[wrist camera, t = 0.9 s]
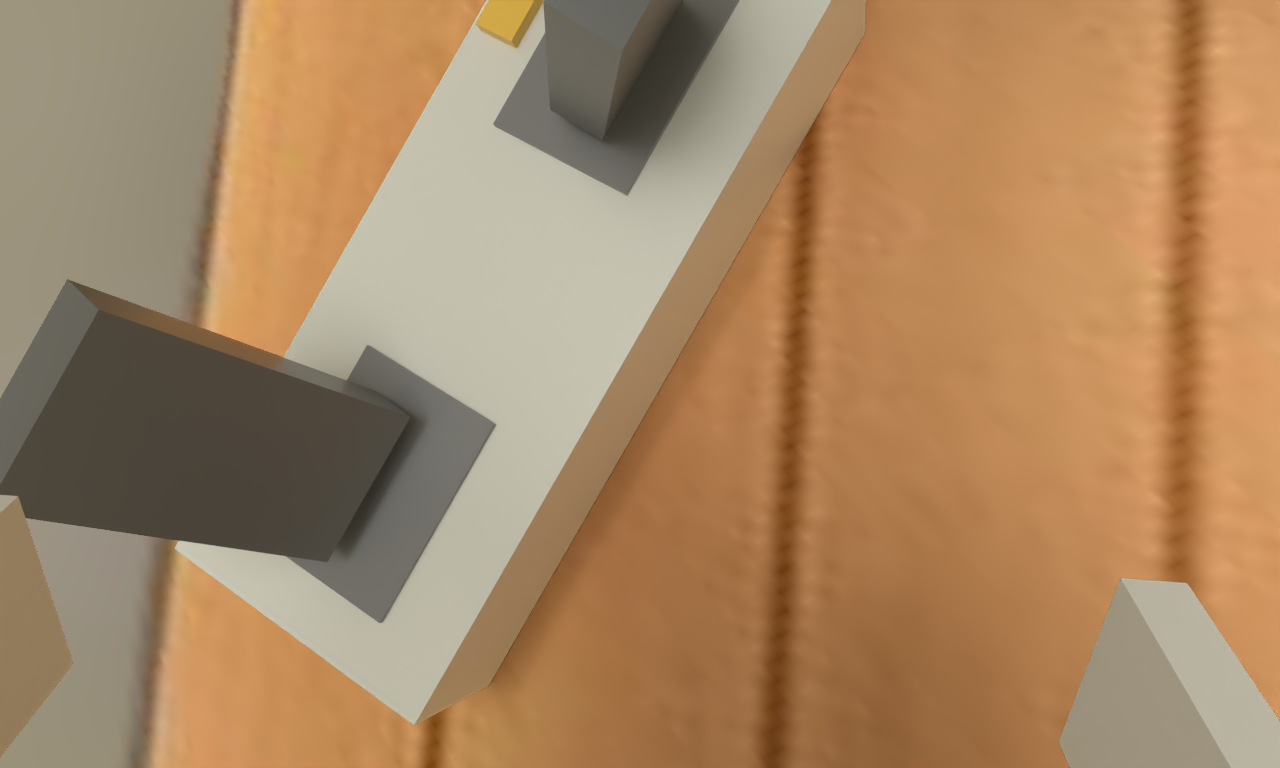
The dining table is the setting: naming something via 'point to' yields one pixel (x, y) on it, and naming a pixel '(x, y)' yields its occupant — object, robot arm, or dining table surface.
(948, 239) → the dining table surface
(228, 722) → the dining table surface
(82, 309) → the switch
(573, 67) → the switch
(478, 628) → the switch box
